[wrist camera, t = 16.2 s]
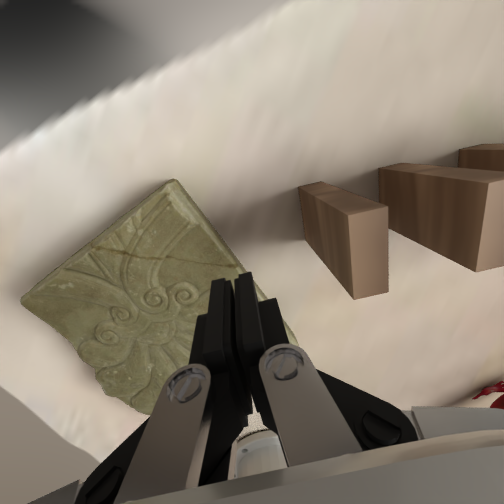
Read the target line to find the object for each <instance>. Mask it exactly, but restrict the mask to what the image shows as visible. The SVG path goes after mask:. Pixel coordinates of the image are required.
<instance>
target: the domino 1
mask: <svg viewBox="0 0 504 504" xmlns="http://www.w3.org/2000/svg"><path fill="white" fill-rule="evenodd" d="M298 190H299V197H300V204H301V211H302V218H303V225H304V232H305V240H306V242H307V243H308V244H309V245H310V247H311V248H312V249H313V250H314V251H315V253H316V254H317V255H318V256H319V258H320V259H321V260H322V261H323V263H324V264H325V265H326V266H327V267H328V269H329V270H330V271H331V272H332V274H333V275H334V276H335V277H336V279H337V280H338V281H339V282H340V284H341V285H342V286H343V287H344V288H345V290H346V291H347V292H348V293H349V295H350V296H351V297H352V298H353V300H356V299H360V298H365V297H369V296H373V295H378V294H382V293H387V292H389V285H388V206H386V205H383V204H381V203H378V202H375V201H372V200H370V199H367V198H364V197H362V196H359V195H356V194H353V193H351V192H348V191H345V190H343V189H340V188H337V187H335V186H332V185H329V184H326V183H324V182H317V183H312V184H308V185H304V186H299V187H298Z"/></svg>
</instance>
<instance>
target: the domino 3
mask: <svg viewBox="0 0 504 504" xmlns="http://www.w3.org/2000/svg"><path fill="white" fill-rule="evenodd" d="M458 168H467V169H479V170H490V171H502V172H504V144H481V145H476V146H472V147H468V148H463V149H459V159H458Z"/></svg>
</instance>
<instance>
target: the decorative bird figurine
mask: <svg viewBox="0 0 504 504" xmlns="http://www.w3.org/2000/svg"><path fill="white" fill-rule="evenodd" d="M502 383H504V382H503V381H500V382H499V383H497V384H495V385H493V386H490V387H486V388H484V389H483V390H482V391H481V393H480V394H478V395H477V396H476V397H474V398H473V399H477V398H478V397H480V396H482V395H489V394H490V393H492V392H504V384H502ZM502 387H503V388H502ZM490 408H498V409H504V394H503V395H501V396H500V397H499V398H498V399H496V400H495V401H494V402H493V404H492V405H491V406H490Z"/></svg>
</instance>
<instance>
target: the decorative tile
mask: <svg viewBox="0 0 504 504" xmlns="http://www.w3.org/2000/svg"><path fill="white" fill-rule="evenodd" d="M242 273H247V271H246V270H245V268H244V267H243V266H242V264H241V263H240V262H239V260H238V259H237V258H236V256H235V255H234V254H233V252H232V251H231V250H230V249H229V247H228V246H227V245H226V243H225V242H224V241H223V239H222V238H221V237H220V235H219V234H218V233H217V231H216V230H215V229H214V227H213V226H212V225H211V223H210V222H209V221H208V219H207V218H206V217H205V215H204V214H203V213H202V211H201V210H200V209H199V208H198V206H197V205H196V204H195V202H194V201H193V200H192V198H191V197H190V196H189V194H188V193H187V192H186V190H185V189H184V188H183V186H182V185H181V184H180V183H179V181H178V180H176V179H171V180H170V181H168V182H167V183H165V184H164V185H163V186H161V187H160V188H159V189H158V190H156V191H155V192H154V193H152V194H151V195H150V196H148V197H147V198H146V199H144V200H143V201H142V202H141V203H140V204H139V205H137V206H136V207H134V208H133V209H132V210H130V211H129V212H128V213H126V214H125V215H123V216H122V217H121V218H120V219H119V220H117V221H116V222H115V223H114V224H112V225H111V226H110V227H109V228H108V229H106V230H105V231H104V232H103V233H102V234H100V235H99V236H98V237H96V238H95V239H94V240H92V241H91V242H90V243H88V244H87V245H85V246H84V247H83V248H81V249H80V250H79V251H78V252H76V253H75V254H74V255H73V256H72V257H70V258H69V259H68V260H67V261H65V262H64V263H63V264H62V265H61V266H59V267H58V268H57V269H55V270H54V271H53V272H51V273H50V274H49V275H48V276H46V277H45V278H44V279H43V280H42V281H40V282H39V283H38V284H37V285H35V286H34V287H33V288H32V289H31V290H30V291H29V292H28V293H26V294H25V295H24V296H23V297H22V298H21V301H20V302H21V304H22V305H23V306H24V307H25V308H26V309H28V310H29V311H30V312H32V313H33V314H34V315H36V316H37V317H38V318H40V319H41V320H43V321H45V322H46V323H47V324H49V325H50V326H52V327H53V328H54V329H55V330H56V331H57V332H59V333H60V334H61V335H62V336H64V337H65V338H66V339H67V340H68V341H69V342H71V343H72V344H73V346H74V348H75V350H76V351H77V352H78V355H79V357H80V358H81V359H82V360H83V361H84V362H85V363H87V364H89V365H90V366H92V367H93V368H95V374H96V379H97V381H98V382H99V383H100V385H101V386H102V389H103V391H104V392H105V394H106V395H108V396H111V397H117V398H119V399H120V400H122V401H123V402H125V403H126V404H127V405H129V406H130V407H131V408H134V409H135V410H136V411H138V412H141V413H143V414H146V415H150V416H151V413H152V411H153V409H154V406H155V404H156V401H157V399H158V397H159V394H160V392H161V390H162V387H163V385H164V384H165V382H166V380H167V379H168V378H169V377H170V376H171V374H172V373H174V372H175V371H176V370H178V369H179V368H181V367H183V366H186V365H188V363H189V358H190V353H191V347H192V342H193V336H194V331H195V326H196V320H197V316H198V315H202V314H206V313H207V312H208V304H209V296H210V289H211V281H212V280H216V279H220V278H225V279H226V281H227V280H231V282H232V286H233V289H234V279H236V278H239V277H238V274H242ZM253 281H254V280H253ZM254 285H255V289H256V293H257V297H258V301H264V300H268V299H267V297H266V296H265V295H264V293H263V292H262V291H261V289H260V288H259V287H258V285H257V284H256V283H255V281H254ZM234 293H235V292H234ZM283 323H284V326H285V330H286V333H287V336H288V340H289V343H290V344H293V345H296V346H299V345H298V342H297V340H296V338H295V336H294V334H293V332H292V330H291V329H290V328H289V326H288V325H287V324H286V322H285V321H284V320H283Z"/></svg>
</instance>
